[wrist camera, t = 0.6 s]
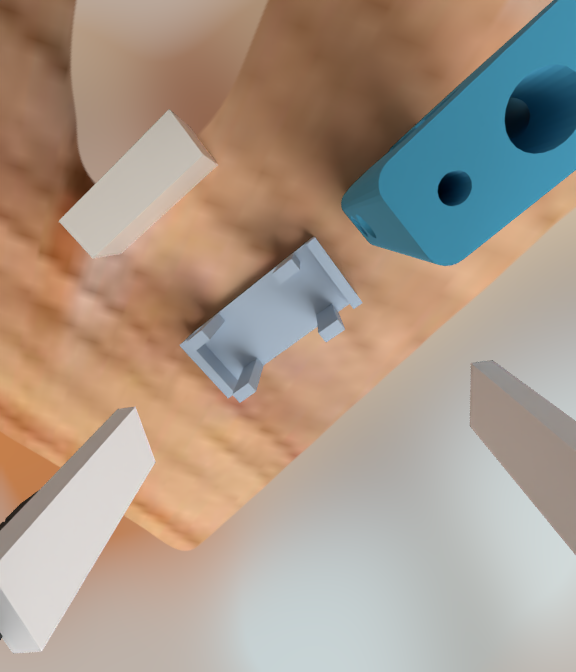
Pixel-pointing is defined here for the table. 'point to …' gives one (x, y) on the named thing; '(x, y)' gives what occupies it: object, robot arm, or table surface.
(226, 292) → the table surface
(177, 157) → the white rectangular bar
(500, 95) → the block
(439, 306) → the table surface
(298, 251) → the rack
